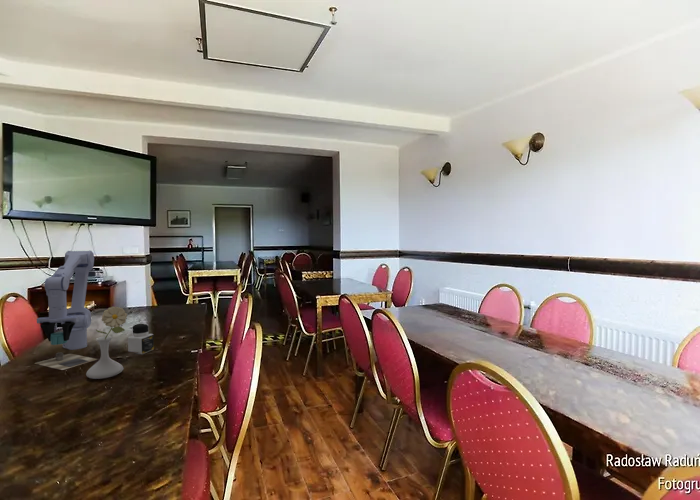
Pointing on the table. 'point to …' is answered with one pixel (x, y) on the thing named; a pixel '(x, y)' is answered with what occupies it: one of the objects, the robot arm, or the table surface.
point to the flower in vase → (106, 364)
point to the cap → (57, 338)
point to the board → (65, 361)
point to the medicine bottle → (140, 339)
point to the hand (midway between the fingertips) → (58, 340)
